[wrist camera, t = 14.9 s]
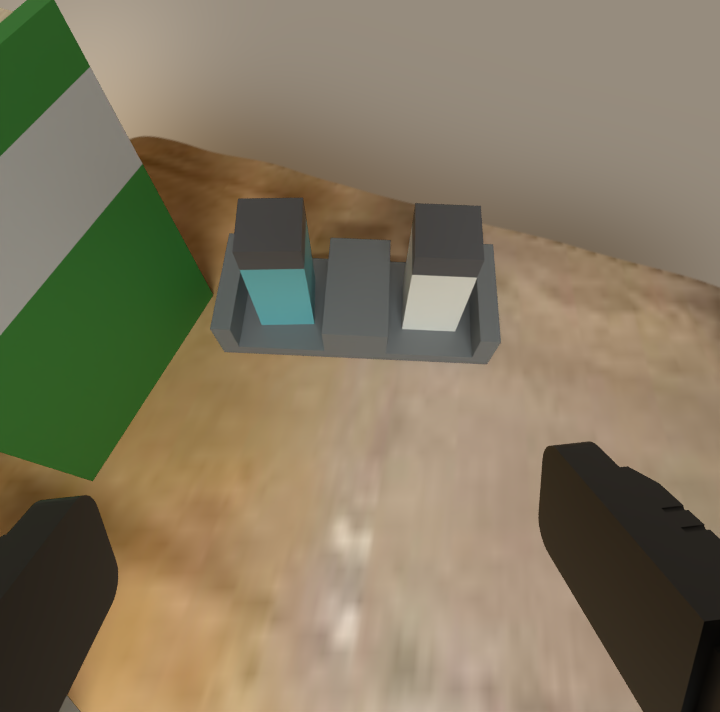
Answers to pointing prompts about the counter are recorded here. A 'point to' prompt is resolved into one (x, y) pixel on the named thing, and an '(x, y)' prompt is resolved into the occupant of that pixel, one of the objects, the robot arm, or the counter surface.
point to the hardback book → (78, 256)
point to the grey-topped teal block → (276, 259)
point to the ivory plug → (441, 265)
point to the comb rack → (358, 312)
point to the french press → (68, 706)
